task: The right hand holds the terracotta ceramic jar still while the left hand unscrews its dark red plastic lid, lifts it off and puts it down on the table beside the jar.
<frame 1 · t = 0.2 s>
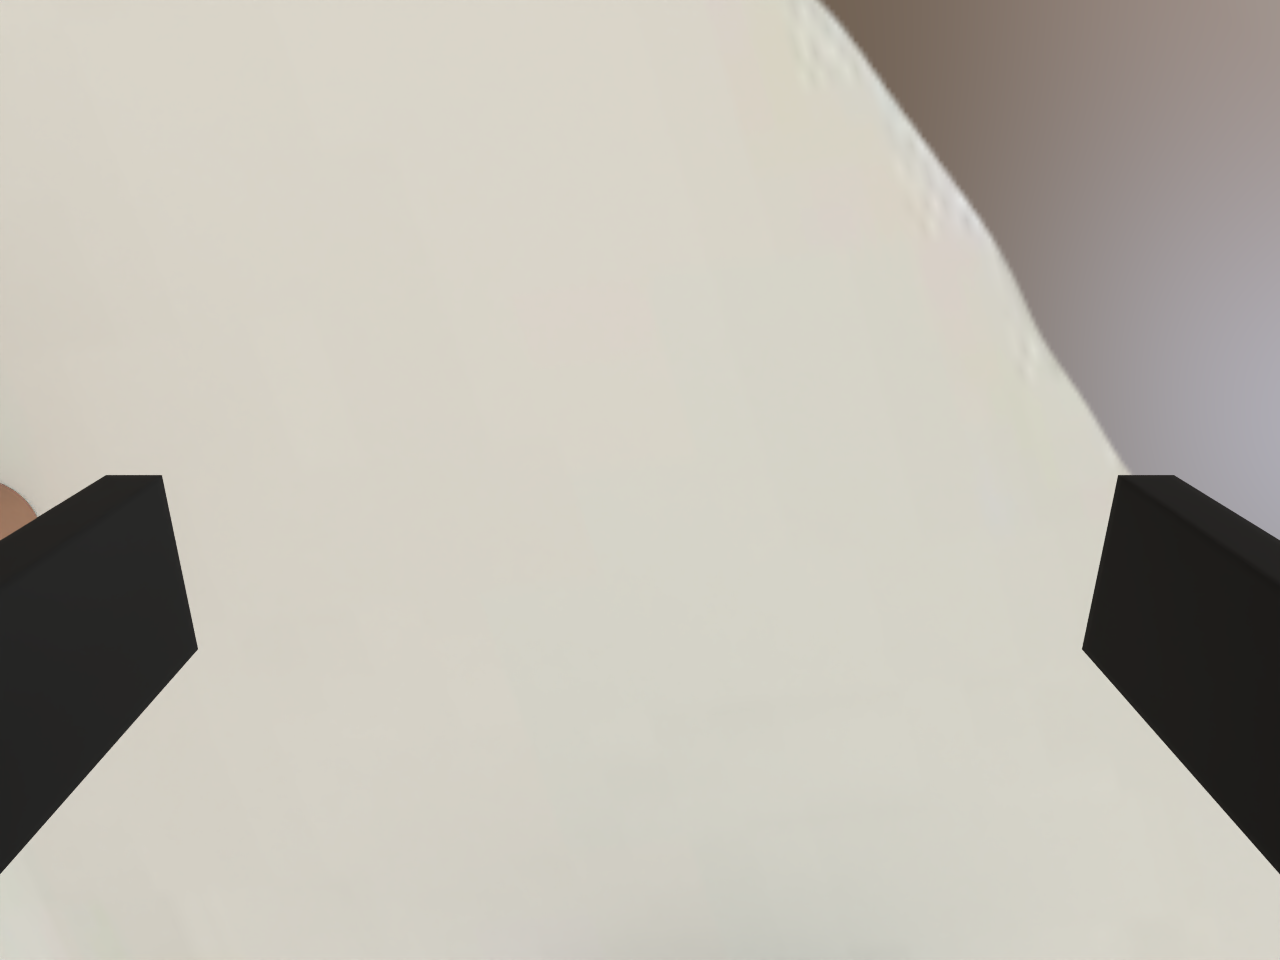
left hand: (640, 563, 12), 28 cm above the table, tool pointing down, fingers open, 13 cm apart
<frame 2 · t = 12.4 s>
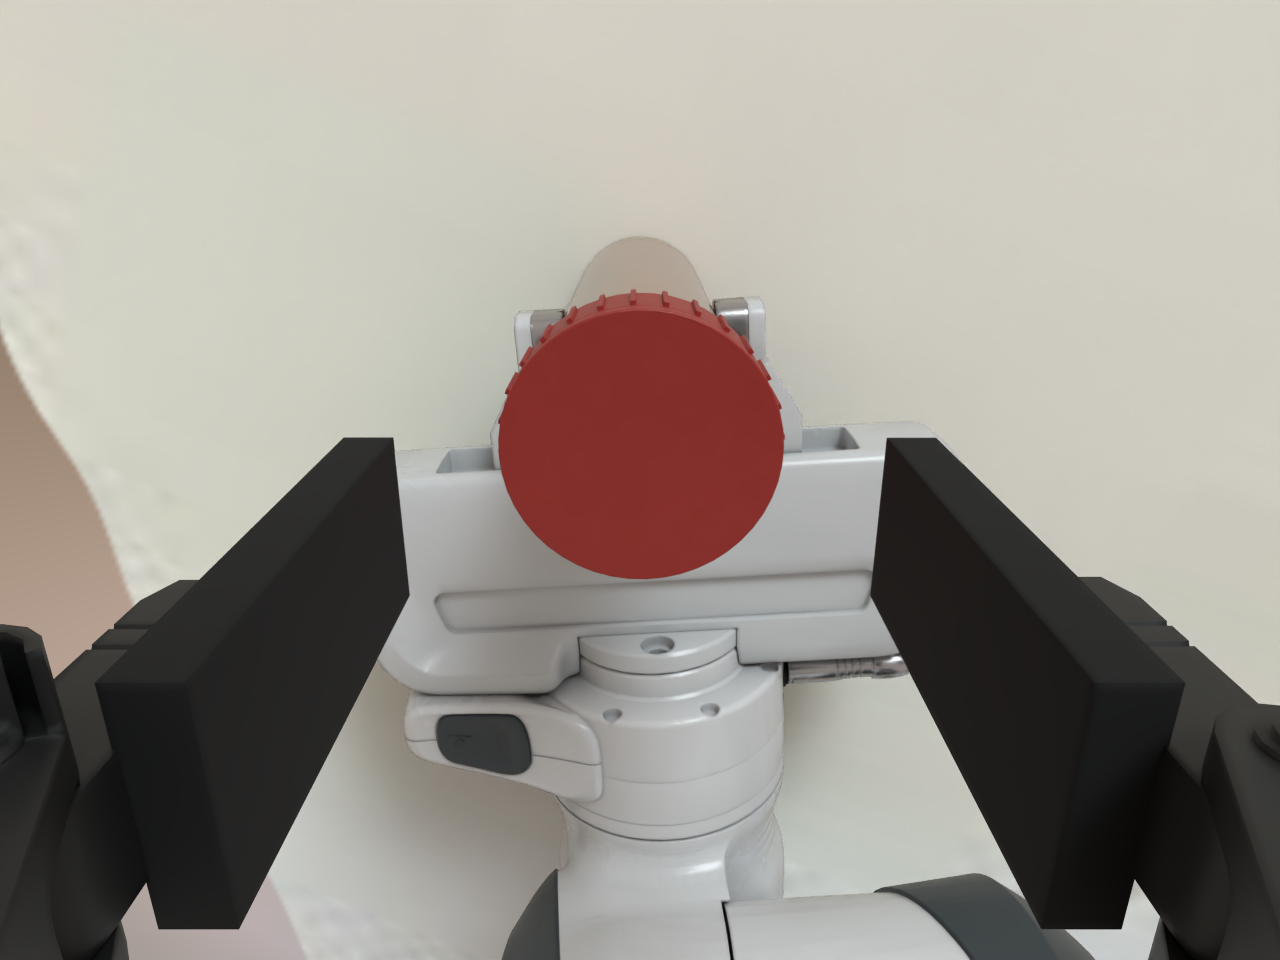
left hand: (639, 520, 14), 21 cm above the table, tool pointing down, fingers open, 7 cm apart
right hand: (637, 306, 27), fingers closed on jar, 5 cm apart
lid: (641, 446, 17), point 17 cm above the table, screwed on, not yet turned
jar: (640, 300, 33), on the table, touching right hand
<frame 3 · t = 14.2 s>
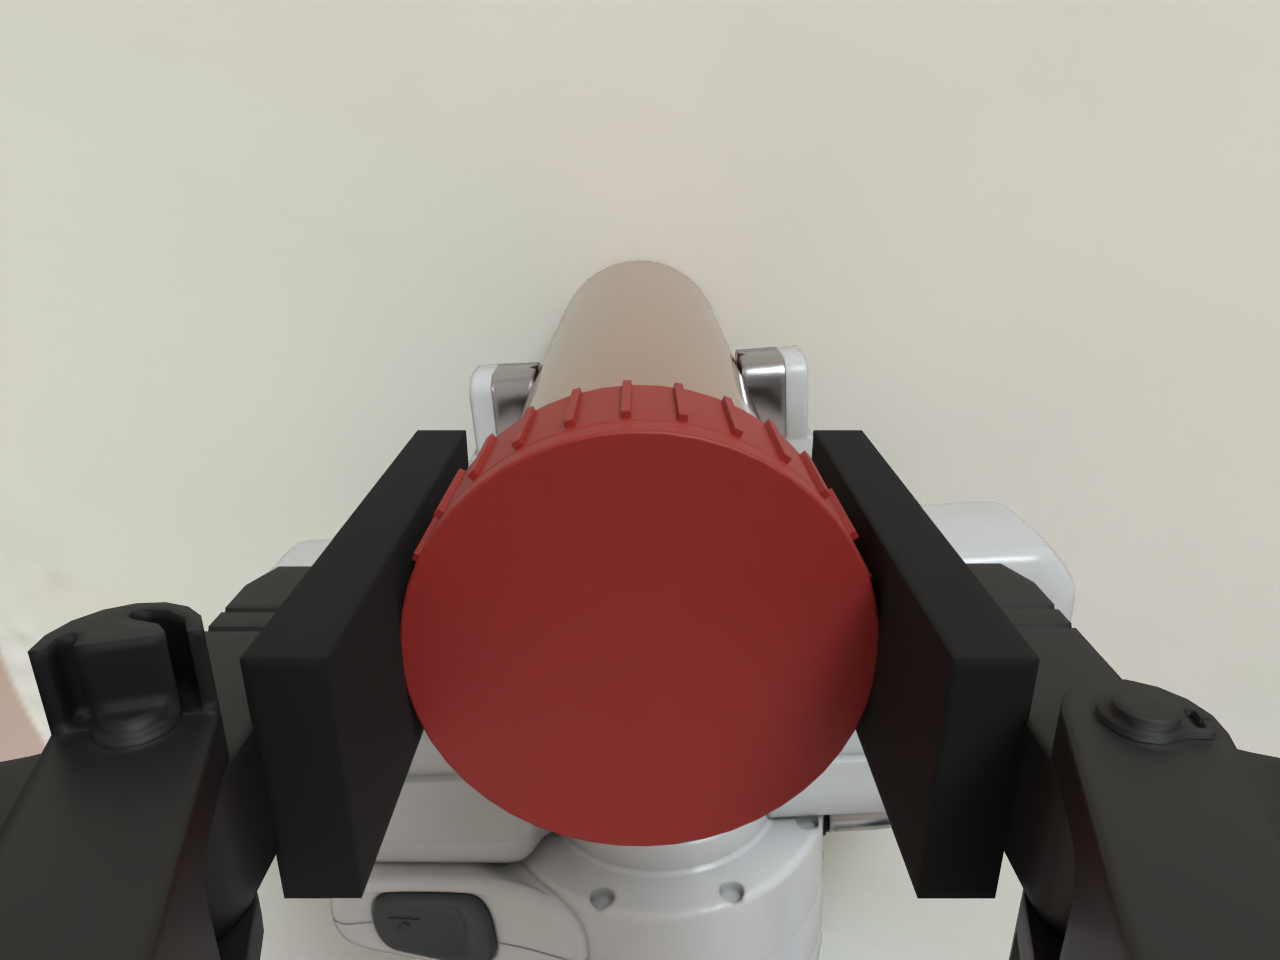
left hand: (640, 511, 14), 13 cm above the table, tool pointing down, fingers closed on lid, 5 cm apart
lid: (639, 643, 10), point 17 cm above the table, screwed on, not yet turned, touching left hand
jar: (639, 340, 26), on the table, touching right hand
when the left hand's fingers open (14 cm above the table, at t = 15.4 s): lid stays where it is, point 18 cm above the table.
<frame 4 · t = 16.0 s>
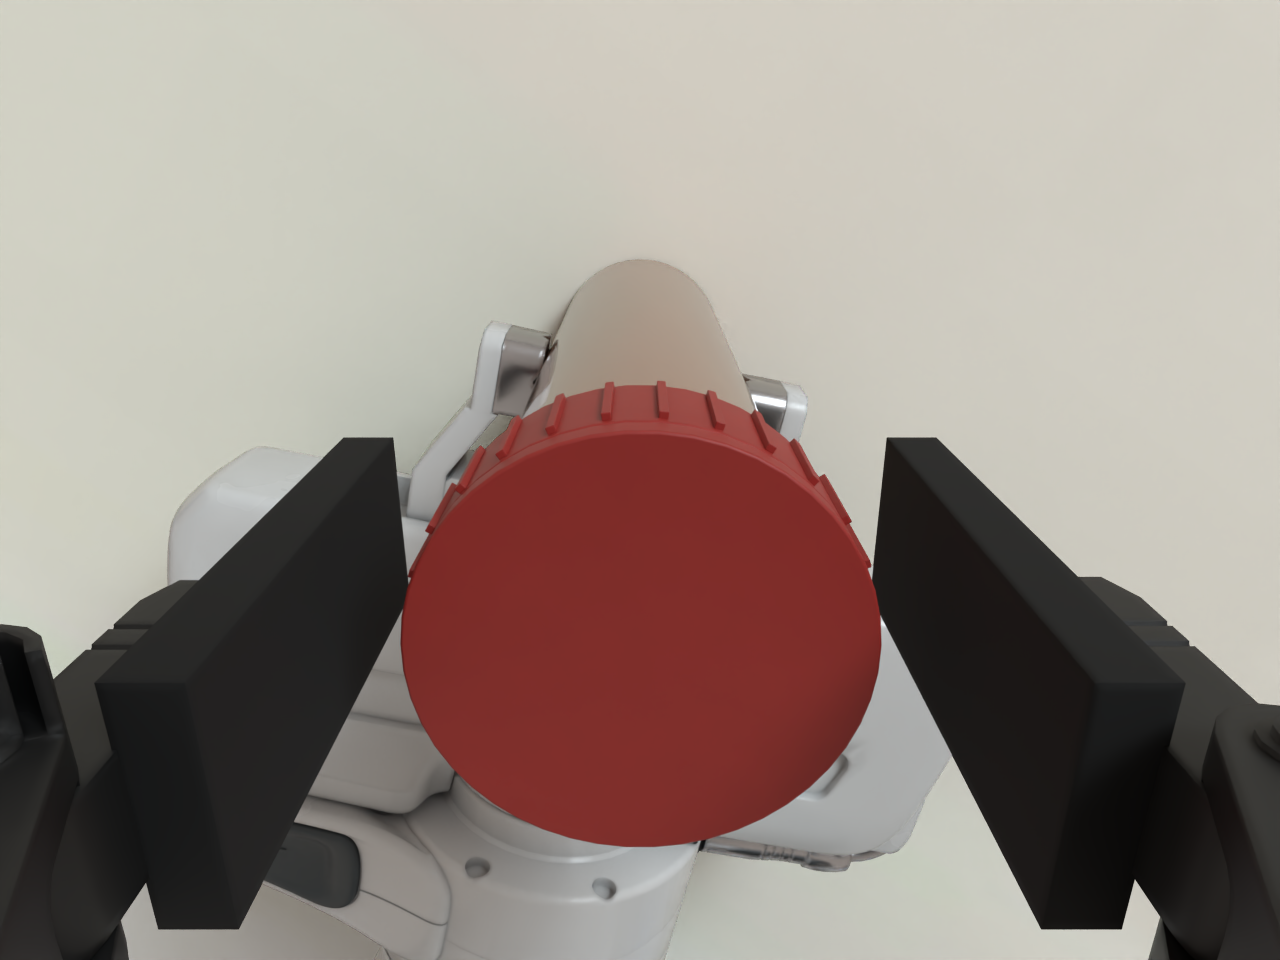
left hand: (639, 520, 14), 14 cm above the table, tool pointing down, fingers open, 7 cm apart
lid: (640, 644, 10), point 18 cm above the table, turned 85° so far, risen 0.3 cm, still on its thread
jar: (640, 338, 27), on the table, touching right hand
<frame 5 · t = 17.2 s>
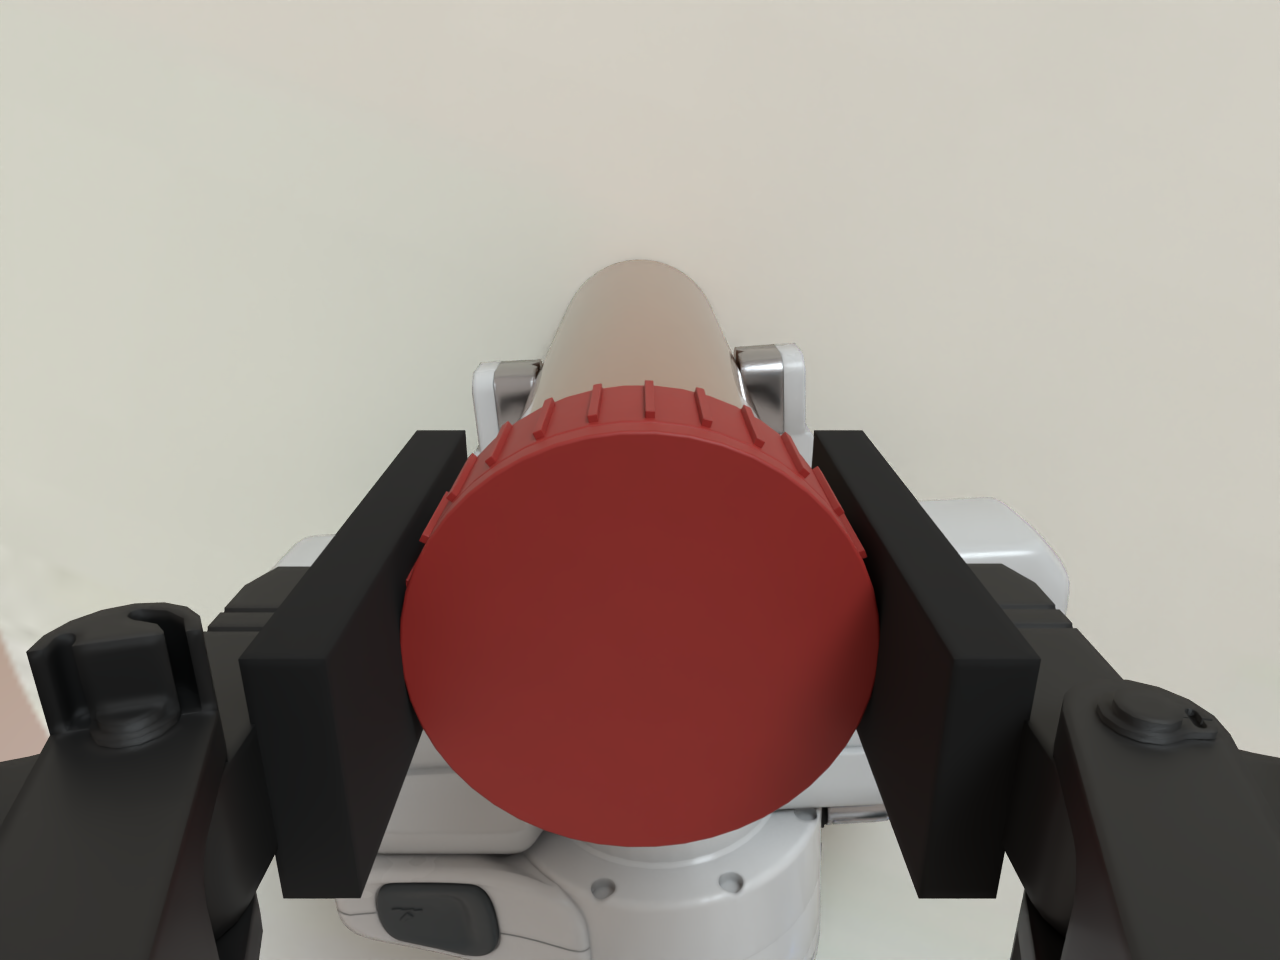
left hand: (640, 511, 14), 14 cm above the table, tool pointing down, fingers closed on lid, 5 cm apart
lid: (639, 644, 10), point 18 cm above the table, turned 85° so far, risen 0.3 cm, still on its thread, touching left hand
jar: (639, 338, 27), on the table, touching right hand
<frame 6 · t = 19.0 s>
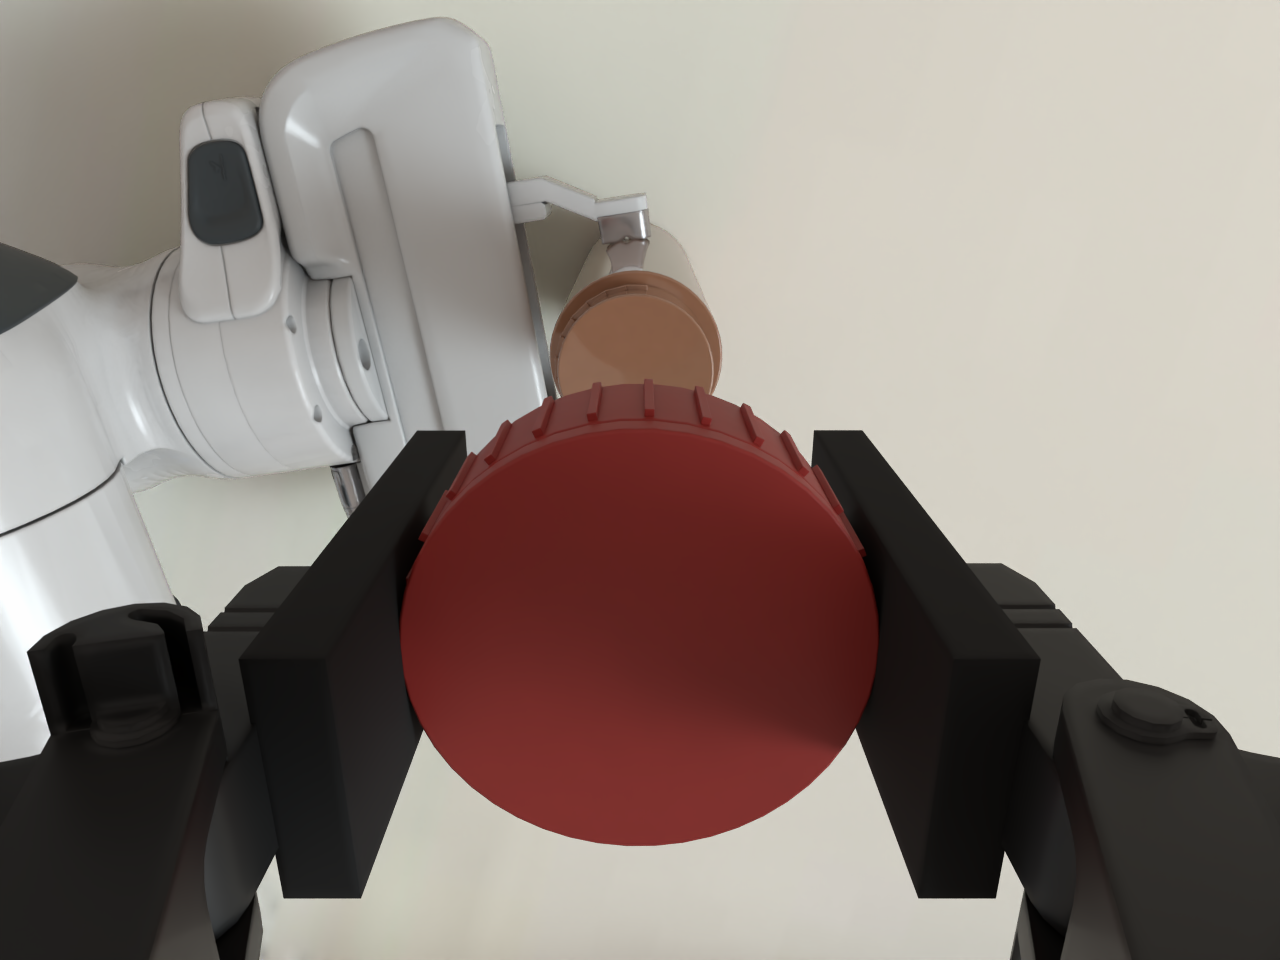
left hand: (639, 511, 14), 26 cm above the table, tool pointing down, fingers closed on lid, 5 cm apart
right hand: (660, 298, 32), fingers closed on jar, 5 cm apart
lid: (639, 642, 10), point 30 cm above the table, off its thread, touching left hand
jar: (637, 278, 38), on the table, touching right hand
when the left hand's fingers open (0 cm above the table, at t = 25.3 s): lid drops 3 cm, point 2 cm above the table.
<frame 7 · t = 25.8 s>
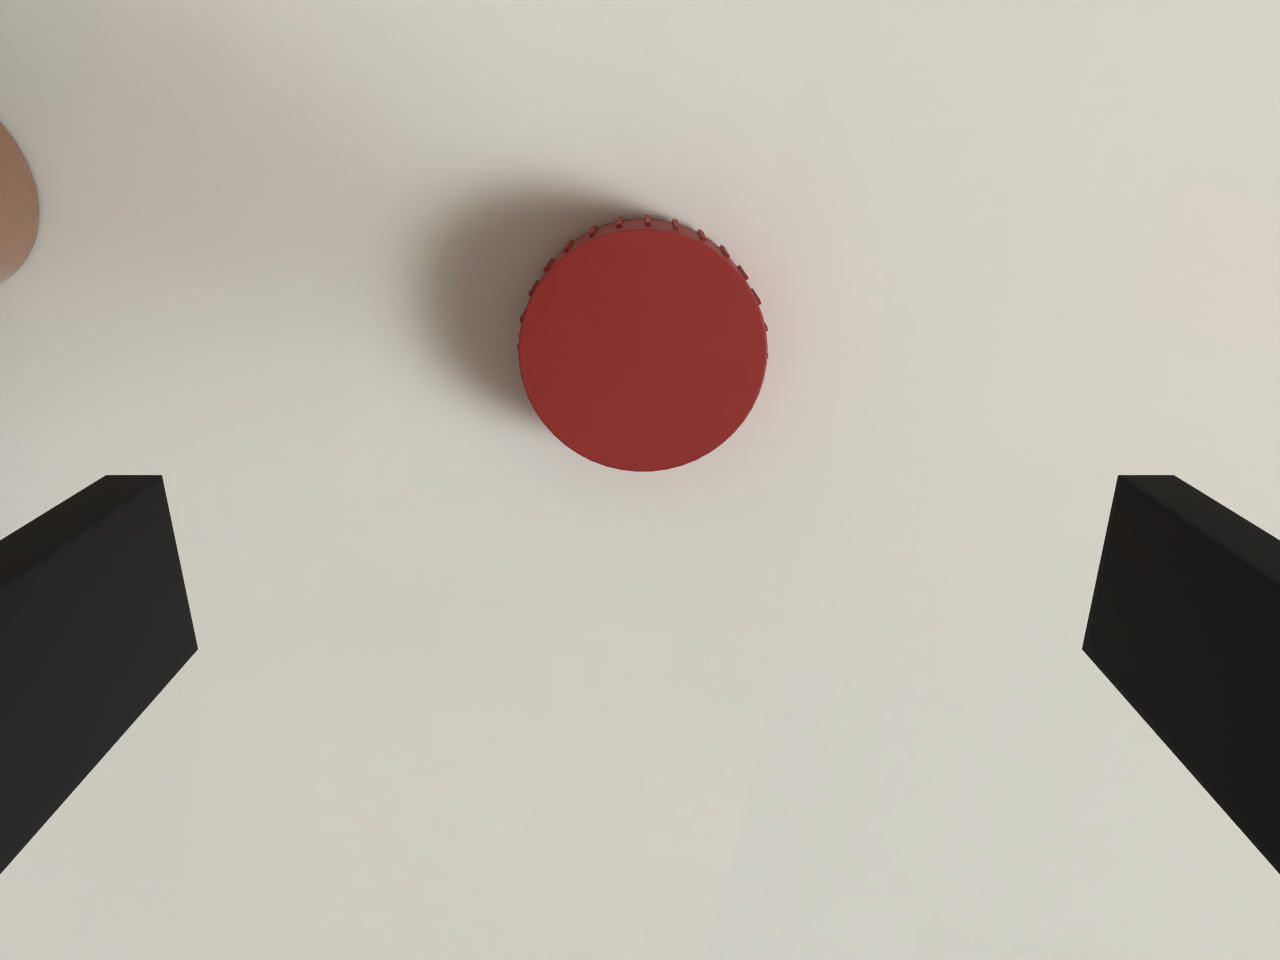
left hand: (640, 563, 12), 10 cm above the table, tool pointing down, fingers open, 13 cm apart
lid: (642, 353, 20), point 2 cm above the table, off its thread
when the right hand's fingers open (6 cm above the table, at t = 25.9 s): jar stays where it is, on the table.
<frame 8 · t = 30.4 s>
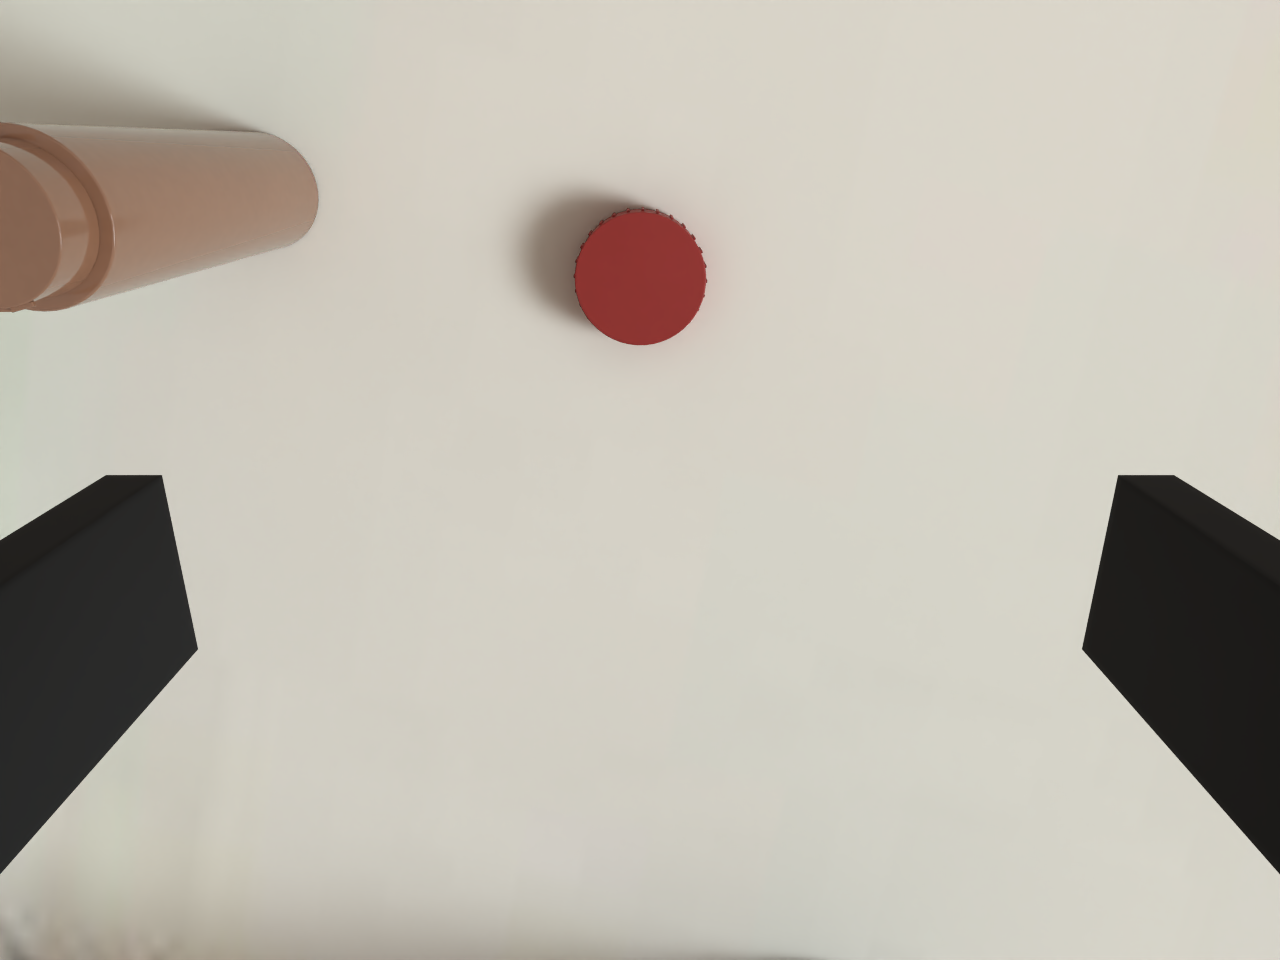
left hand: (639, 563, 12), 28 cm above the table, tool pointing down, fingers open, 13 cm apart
lid: (640, 279, 37), point 2 cm above the table, off its thread
jar: (262, 191, 37), on the table
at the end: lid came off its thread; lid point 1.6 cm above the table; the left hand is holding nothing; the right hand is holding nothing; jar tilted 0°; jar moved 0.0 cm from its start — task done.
